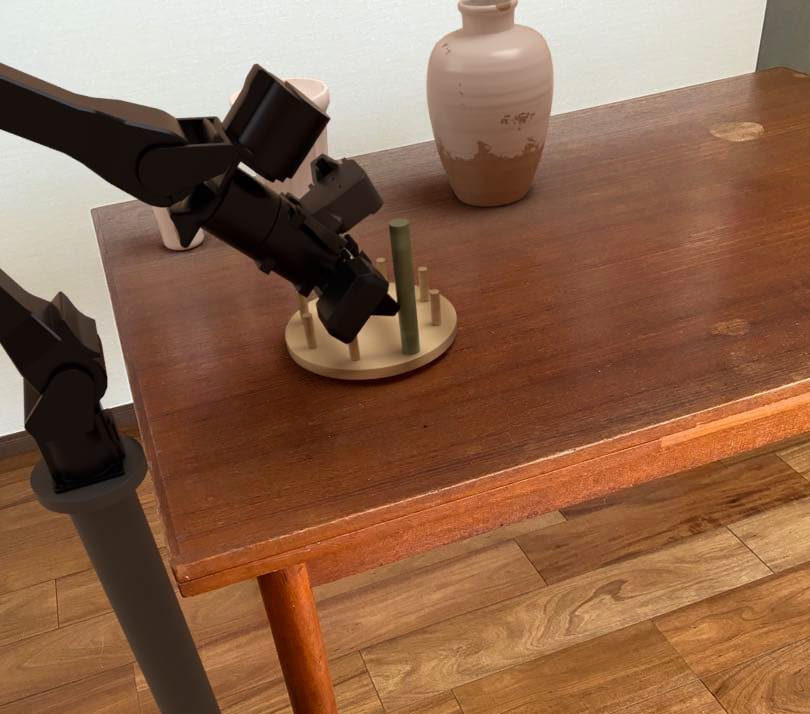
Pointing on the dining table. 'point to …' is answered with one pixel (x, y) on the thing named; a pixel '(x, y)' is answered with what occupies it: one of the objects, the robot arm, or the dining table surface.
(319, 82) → the cup
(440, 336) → the wooden peg board
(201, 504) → the dining table surface
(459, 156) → the vase
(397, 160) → the dining table surface
